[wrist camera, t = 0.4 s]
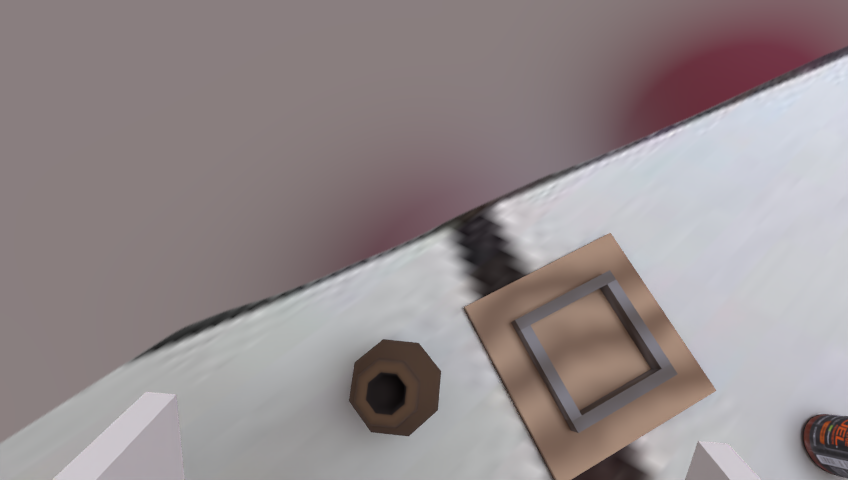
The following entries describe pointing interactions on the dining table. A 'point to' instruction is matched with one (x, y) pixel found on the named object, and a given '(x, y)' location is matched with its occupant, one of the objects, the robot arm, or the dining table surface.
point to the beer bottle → (395, 387)
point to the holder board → (587, 356)
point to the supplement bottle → (828, 443)
